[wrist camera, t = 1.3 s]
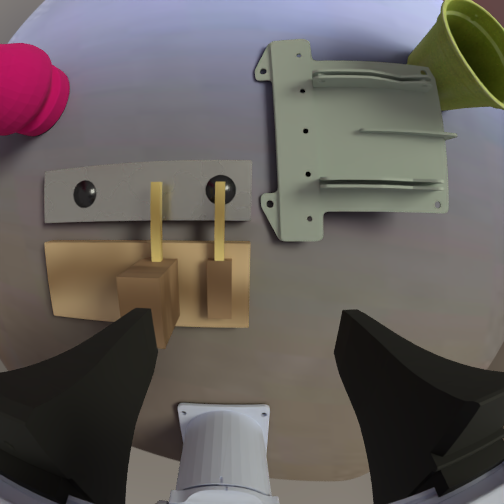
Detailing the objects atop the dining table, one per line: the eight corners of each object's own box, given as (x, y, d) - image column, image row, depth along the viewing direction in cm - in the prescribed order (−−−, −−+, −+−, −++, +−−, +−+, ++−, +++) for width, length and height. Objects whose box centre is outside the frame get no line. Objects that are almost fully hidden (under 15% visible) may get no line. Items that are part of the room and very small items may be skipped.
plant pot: (421, 142, 20) (494, 125, 12) (368, 44, 18) (419, -7, 10) (478, 116, 20) (541, 101, 11) (434, 32, 18) (485, -2, 10)
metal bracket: (443, 38, 13) (467, 245, 16) (422, 66, 19) (437, 234, 21) (247, 33, 16) (257, 245, 19) (263, 65, 22) (272, 233, 25)
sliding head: (180, 315, 20) (164, 348, 15) (147, 313, 20) (124, 345, 15) (177, 182, 18) (157, 176, 13) (142, 183, 18) (113, 179, 13)
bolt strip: (249, 219, 21) (250, 220, 19) (51, 222, 20) (44, 223, 19) (251, 162, 20) (252, 160, 19) (51, 172, 19) (44, 171, 18)
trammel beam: (247, 320, 22) (249, 332, 20) (60, 310, 21) (49, 318, 19) (250, 183, 20) (252, 182, 18) (51, 190, 19) (37, 191, 17)
